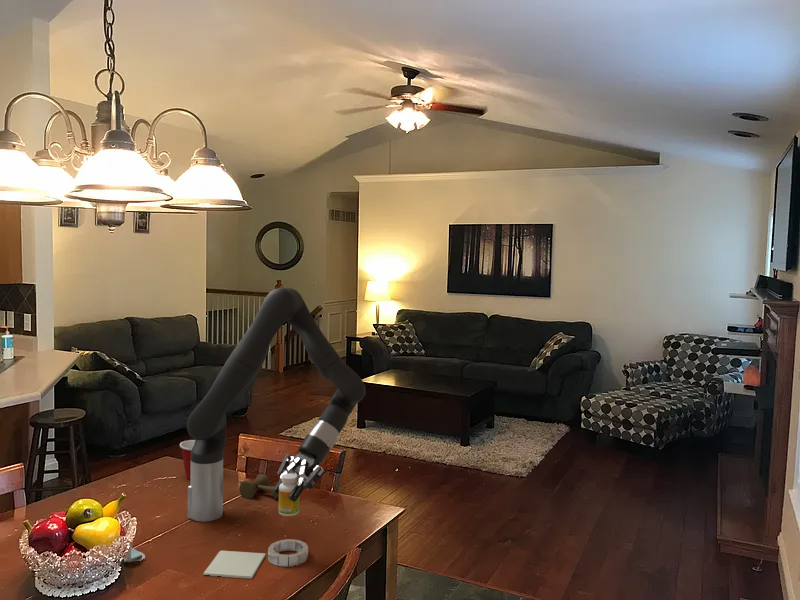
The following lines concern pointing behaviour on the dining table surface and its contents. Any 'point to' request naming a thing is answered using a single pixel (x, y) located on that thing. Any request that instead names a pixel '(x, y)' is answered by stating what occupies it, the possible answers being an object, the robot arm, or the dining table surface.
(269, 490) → the kendama
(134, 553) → the pacifier
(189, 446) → the plastic cup
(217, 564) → the sage mat
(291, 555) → the white segmented ring
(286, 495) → the supplement bottle
